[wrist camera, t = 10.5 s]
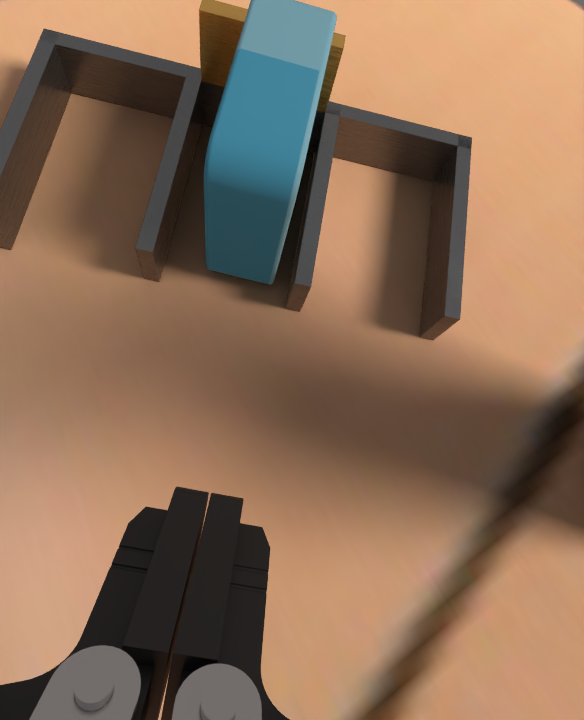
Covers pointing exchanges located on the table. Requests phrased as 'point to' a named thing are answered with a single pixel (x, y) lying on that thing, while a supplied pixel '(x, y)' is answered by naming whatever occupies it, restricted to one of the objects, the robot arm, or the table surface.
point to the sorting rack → (199, 107)
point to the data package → (263, 136)
